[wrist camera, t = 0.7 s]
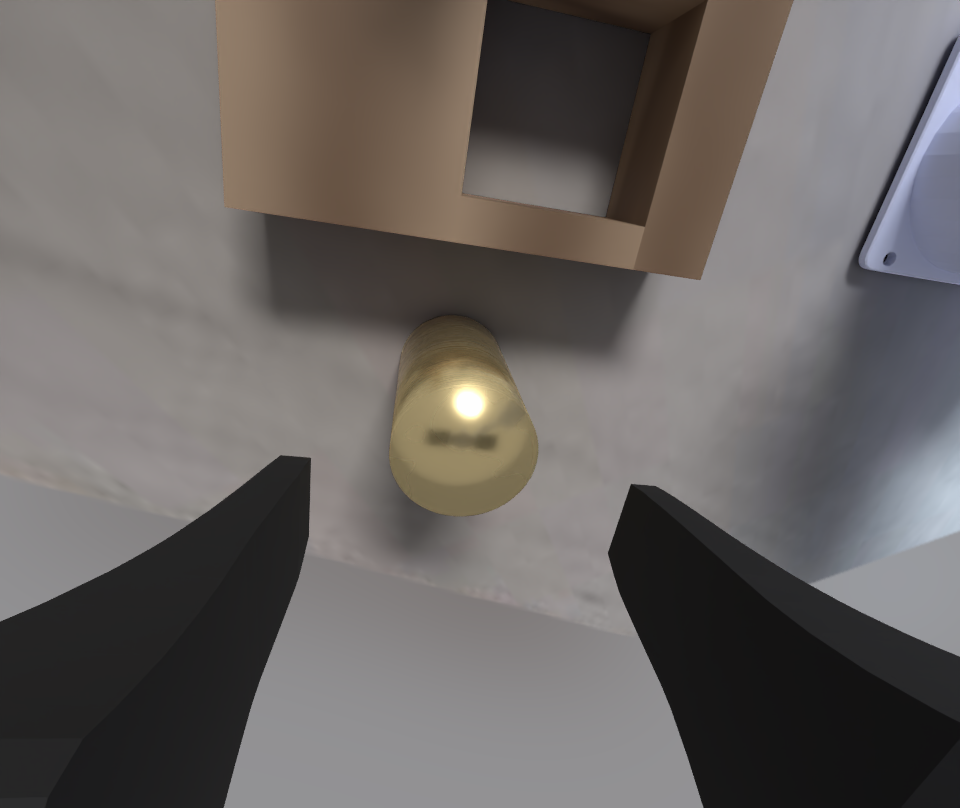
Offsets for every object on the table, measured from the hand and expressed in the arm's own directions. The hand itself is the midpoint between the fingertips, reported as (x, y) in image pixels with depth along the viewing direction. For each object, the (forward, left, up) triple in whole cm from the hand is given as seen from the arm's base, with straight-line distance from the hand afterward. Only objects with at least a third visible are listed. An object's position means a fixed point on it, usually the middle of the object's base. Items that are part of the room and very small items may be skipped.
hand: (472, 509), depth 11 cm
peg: (0, 0, -9) cm, 9 cm away
